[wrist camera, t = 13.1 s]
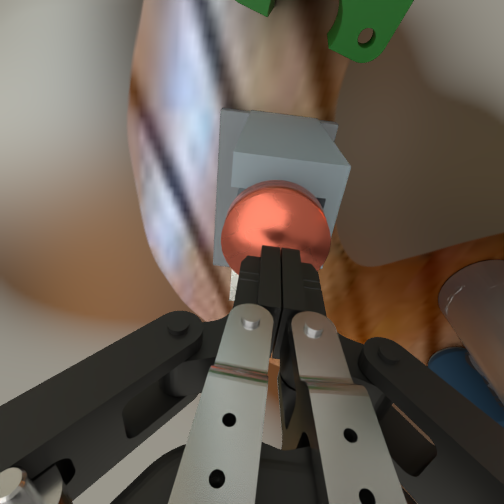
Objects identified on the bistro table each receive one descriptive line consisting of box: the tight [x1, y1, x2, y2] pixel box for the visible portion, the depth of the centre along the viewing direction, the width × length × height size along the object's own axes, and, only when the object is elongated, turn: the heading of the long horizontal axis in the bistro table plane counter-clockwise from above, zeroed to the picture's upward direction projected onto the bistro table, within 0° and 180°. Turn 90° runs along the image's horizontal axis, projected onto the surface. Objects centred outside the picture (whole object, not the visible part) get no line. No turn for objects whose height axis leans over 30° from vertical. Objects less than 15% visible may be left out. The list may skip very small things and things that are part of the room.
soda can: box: [428, 347, 504, 428], centre depth 37 cm, size 7×7×12 cm
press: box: [213, 108, 351, 269], centre depth 25 cm, size 10×16×14 cm, turn 174°
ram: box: [221, 180, 331, 275], centre depth 20 cm, size 5×5×14 cm
